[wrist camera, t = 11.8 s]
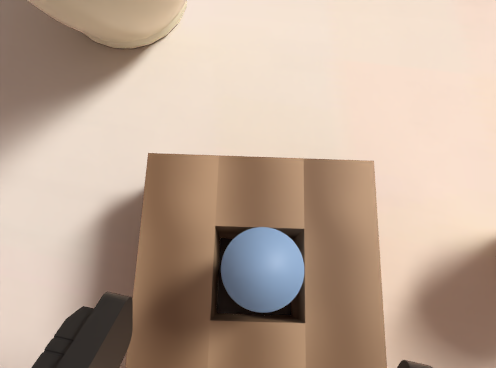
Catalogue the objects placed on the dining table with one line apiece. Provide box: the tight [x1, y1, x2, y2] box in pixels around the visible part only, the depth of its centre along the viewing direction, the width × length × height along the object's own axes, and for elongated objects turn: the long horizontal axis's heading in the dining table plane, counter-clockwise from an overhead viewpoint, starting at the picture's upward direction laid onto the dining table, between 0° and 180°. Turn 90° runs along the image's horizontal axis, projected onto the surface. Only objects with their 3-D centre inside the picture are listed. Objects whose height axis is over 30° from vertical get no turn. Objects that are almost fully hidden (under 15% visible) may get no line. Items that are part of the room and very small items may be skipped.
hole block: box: [125, 153, 387, 368], centre depth 21 cm, size 12×12×5 cm
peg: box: [221, 227, 304, 313], centre depth 18 cm, size 3×3×10 cm
